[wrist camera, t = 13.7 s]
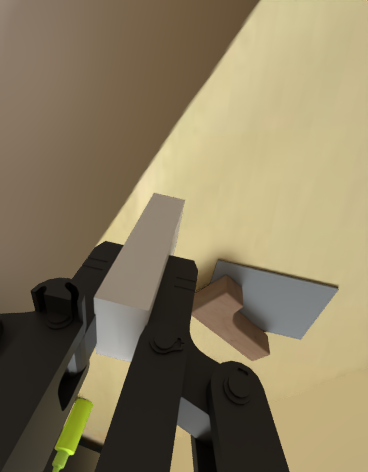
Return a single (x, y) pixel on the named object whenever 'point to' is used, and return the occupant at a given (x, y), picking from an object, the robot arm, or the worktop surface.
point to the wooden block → (229, 318)
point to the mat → (277, 298)
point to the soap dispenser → (71, 432)
